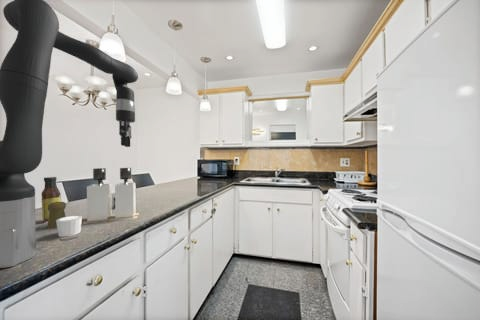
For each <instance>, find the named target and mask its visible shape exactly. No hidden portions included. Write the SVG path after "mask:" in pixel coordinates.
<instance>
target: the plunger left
mask: <svg viewBox="0 0 480 320" xmlns="http://www.w3.org/2000/svg"><path fill="white" fill-rule="evenodd" d="M106 169H107V168H105V167H103V168H101V167H99V168H92V173H93V174H92V177H93V178H92V179H93V181H97V184H98V186H102V184H103V183H102V181H105V180H107V177H106V176H107V175H106V171H107V170H106Z"/></svg>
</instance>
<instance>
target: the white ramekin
mask: <svg viewBox="0 0 480 320" xmlns="http://www.w3.org/2000/svg"><path fill="white" fill-rule="evenodd" d="M82 221H83V216H82V215H68V216H65V217H63V218H60V219H57V220H56V223H57V228H56V229H57V235H58V237H59V238H60V239H58V240H59V242H64V241H65V242H66V241H72V240H75V239H77V238H79V236H75V237H72V236H74V235H78V234H79V233H81V230H82V229H81V228H82V223H83V222H82ZM70 236H71V237H70ZM61 237H63V238H61ZM64 237H66V238H64ZM67 237H68V238H67Z"/></svg>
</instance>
